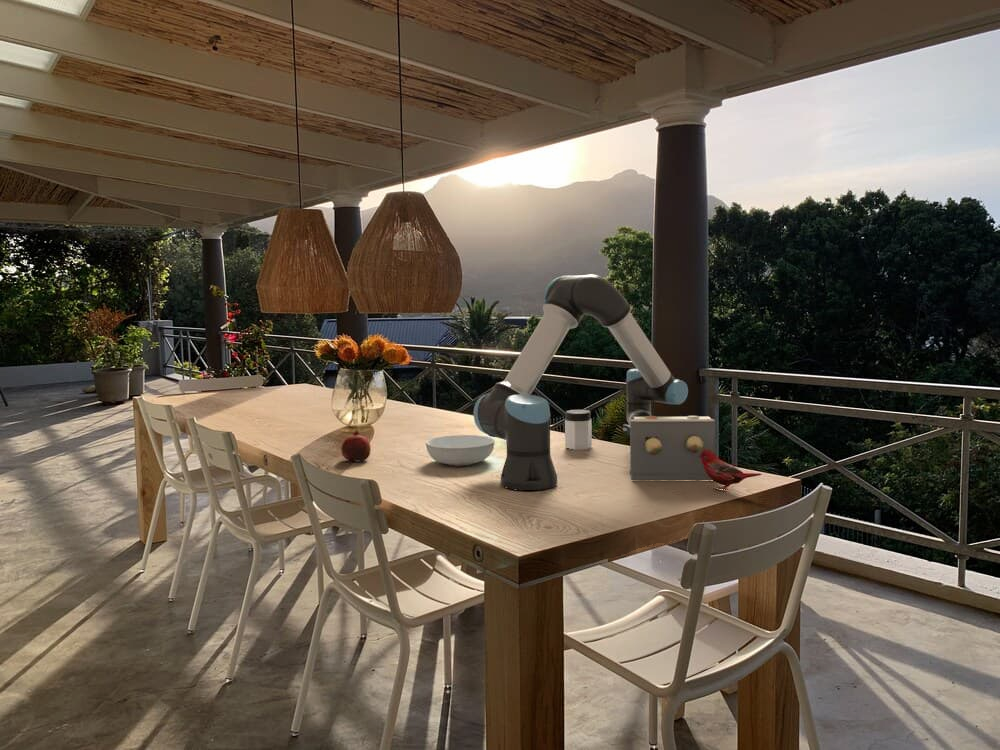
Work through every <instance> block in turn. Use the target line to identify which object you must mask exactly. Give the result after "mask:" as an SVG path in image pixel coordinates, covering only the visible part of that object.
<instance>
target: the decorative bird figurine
mask: <svg viewBox="0 0 1000 750" xmlns="http://www.w3.org/2000/svg"><path fill="white" fill-rule="evenodd" d="M698 457H700V458H701V460H702V463H703V466H704V469H705V471H706V473H707V475H708V476H709V477H710V478H711V479H712V480H713V481H712V482H714V483H716V484H719V485H722V486H721V487H719V486H717V487H716V486H714V487H715V488H714V489H716V488H718V489H723V490H724V489H725V490H727V491H728V490H729V488H728V487H730V486H731V485H736V484H740V483H741V482H742V481H743V480H745V479H747V478H753V477H758V476H761V475H762V473H760V472H759V473H758V472H757V473H756V472H755V473H753V472H743V471H741V470H740V469H739V468H737V467H735V466H734V465H732V464H730V463H727V462H726V461H723V460H722V459H720V458H719V457H718V456H717V455H716V454H714V453H713V452H711V451H710V450H708V449H705V450H703V451H702V453H701V454H700V455H699V456H698ZM723 490H722V491H723Z"/></svg>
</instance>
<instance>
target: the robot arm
mask: <svg viewBox="0 0 1000 750" xmlns="http://www.w3.org/2000/svg"><path fill="white" fill-rule="evenodd" d="M543 295H544V296H543V297H544V299H543V303H544V304H543V305H542V310H543V315H542V317H541V319H540V321H539V322H538V324H537V326H536V327H535V328H534V331H533V332H532V334H531V336H530V337H529V339H528V341H527V342H526V344H525V345H524V347H523V349H522V351H521V352H520V354H519V356H518V357H517V359H516V360H515V362H514V363H513V365H512V366H511V368H510V370H509V372H508V374H506V377H505V378H504V379H503V381H500V382H496V383H495V385H494V386H493V388H492V389H491V391H490V392H489V393H486V394H484V395H481V396H480V397H479V398H478V399H477V401H476V402H475V404H474V407H473V411H472V412H473V420H474V423H475V426H476V427H477V428H478V430H479V431H480V432H482V433H483V434H485V435H487V436H488V437H490V438H498V439H501V440H504V441H506V458H505V460H504V464H503V468H502V470H501V474H500V485H501V486H502V485H503V486H504V487H503V486H502V487H503V488H505V487H507V488H510V489H509V490H511V489H516V490H515V491H518V490H538V491H541V490H540V489H545V490H548V489H547V488H549V489H552V488H555V487H556V486H557V485H558V474H557V472H556V469H555V466H554V462H553V460H552V457H551V411H550V405H549V402H548V401H547V399H545V398H544V397H541V396H539V395H533V394H532V393H533V392H534V390H535V389H536V386H537V384H539V381H541V380H540V379H541V378H542V376H543V374H544V373H545V371H546V370H547V368H548V366H549V364H550V362H551V361H552V359H553V358H554V355H555V354H556V353H557V351H558V349H559V347H560V346H561V344H562V343H563V341H564V339H565V337H566V335H567V334H568V332H569V330H571V329H575V328H577V327H578V325H579V324H580V323H581V320H582V319H583V317H584V316H590V317H593V318H595V320H597V321H598V322H599V323H600V325H601V326H602V327H603V328H607V329H608V330H609V332H610V333H611V334H612V337H613V338H615V339H616V341H617V343H618V344H619V345H620V347H621V349H622V350H623V351H624V352H625V354H626V355H627V357H628V358H629V360H630V361H631V363H632V364H633V365H634V367H635V368H630V369H628V370H627V372H626V381H625V382H626V383H625V384H626V413H625V415H626V417H625V418H626V421H627V423H628V424H626V423H624V424H622V433H623V434H626V435H628V436H630V419H634V417H646V416H653V415H652V405H651V404H652V402H656V403H663V404H667V405H681V404H683V403H684V402H685V401H686V399H687V397H688V393H689V389H688V388H689V387H688V384H687V383H686V382H685V381H684V380H682V379H681V380H680V379H679V378H675V377H674V376H673V374H672V373H671V371H670V370H669V368H668V367H667V366H666V364H665V362H664V360H663V359H662V358H661V356H660V355H659V354H658V352H657V351H656V349H655V348H654V346H653V345H652V343H651V341H650V340H649V339H648V337H647V335H646V334H645V332H644V331H643V330H642V328H641V327H640V324H638V322H637V321H636V319H635V317H634V316H633V315H632V313H631V310H632V309H631V308H632V307H631V305H630V304H629V303H628V301H627V299H626V298H625V297H624V294H622V293H621V292H620V291H619V289H617V287H616V286H615V285H614V284H612V283H611V282H610V281H609V280H608V279H606V278H604V277H603V276H600V275H597V274H584V275H583V274H579V275H578V274H577V275H569V274H567V275H562V276H559V277H556V278H553V280H551V281H550V282H549V283H548V285H546V288H545V291H544V294H543ZM556 484H557V485H556ZM555 485H556V486H555ZM551 487H552V488H551ZM507 488H506V489H507Z"/></svg>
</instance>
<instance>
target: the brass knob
mask: <svg viewBox="0 0 1000 750" xmlns="http://www.w3.org/2000/svg"><path fill="white" fill-rule="evenodd" d="M645 449H646V451H647V452H648V453H649V454H651V455H656V454H658V453H660V452H661V450H662V444H661V442H660V440H659V439H657V437H646V442H645Z"/></svg>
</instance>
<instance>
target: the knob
mask: <svg viewBox="0 0 1000 750" xmlns="http://www.w3.org/2000/svg"><path fill="white" fill-rule="evenodd" d="M685 445H686V447H687V449H688V450H689V451H690V452H693V453H696V452H699V451H700V450H701V449H702V448H703V441H702V439H701V438H700V437H698V436H696V435H691V436H689V437H687V439H686V442H685Z"/></svg>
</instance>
